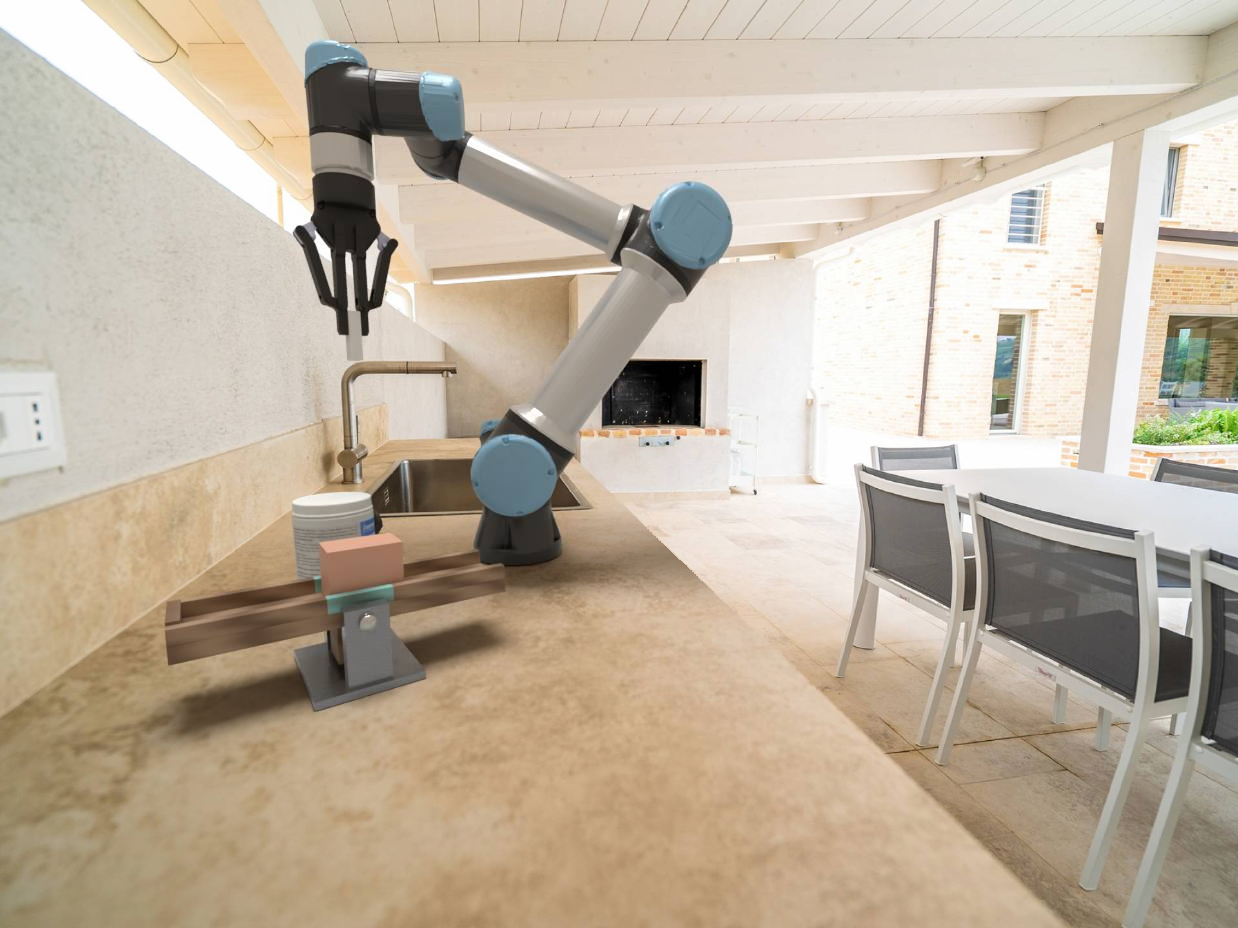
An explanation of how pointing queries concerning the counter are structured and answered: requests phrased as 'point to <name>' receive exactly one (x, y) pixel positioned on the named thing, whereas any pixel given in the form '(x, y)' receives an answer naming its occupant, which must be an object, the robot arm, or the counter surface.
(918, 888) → the counter surface
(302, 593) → the beam
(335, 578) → the block
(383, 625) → the stand
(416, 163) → the robot arm
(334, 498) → the supplement tub
